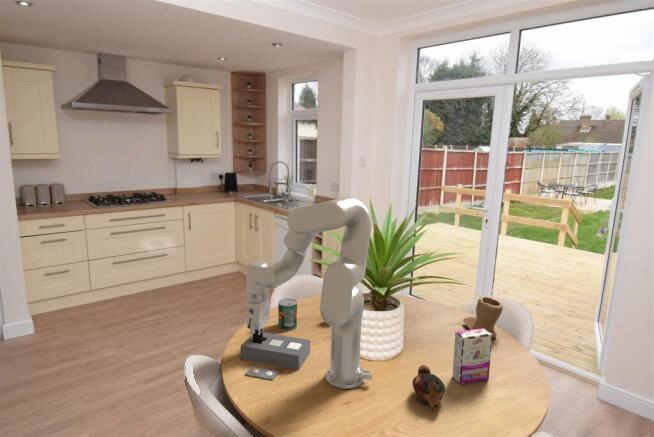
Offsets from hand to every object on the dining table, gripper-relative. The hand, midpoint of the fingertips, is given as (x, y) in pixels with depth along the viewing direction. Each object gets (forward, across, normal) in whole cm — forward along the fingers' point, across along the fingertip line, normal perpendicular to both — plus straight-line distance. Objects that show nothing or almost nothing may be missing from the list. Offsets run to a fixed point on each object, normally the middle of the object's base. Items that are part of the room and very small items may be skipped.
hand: (257, 342), depth 149 cm
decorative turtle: (+4, -9, -61) cm, 62 cm away
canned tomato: (+4, +24, -2) cm, 24 cm away
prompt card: (+4, -12, -7) cm, 15 cm away
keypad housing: (+4, 0, -7) cm, 8 cm away
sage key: (+1, 0, -7) cm, 7 cm away
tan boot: (+4, +46, -81) cm, 93 cm away
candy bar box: (+4, +7, -74) cm, 75 cm away
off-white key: (+1, 0, -14) cm, 14 cm away
